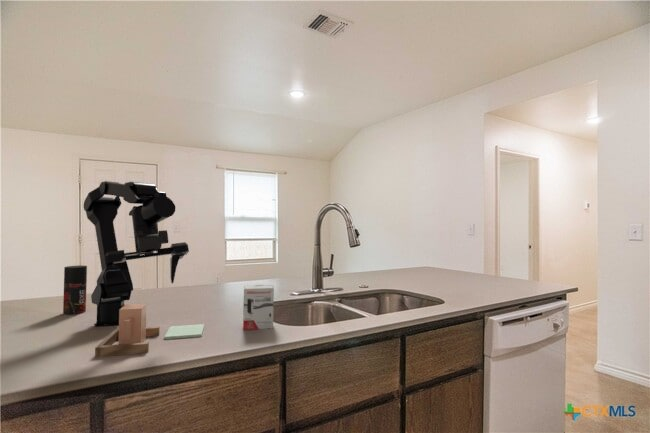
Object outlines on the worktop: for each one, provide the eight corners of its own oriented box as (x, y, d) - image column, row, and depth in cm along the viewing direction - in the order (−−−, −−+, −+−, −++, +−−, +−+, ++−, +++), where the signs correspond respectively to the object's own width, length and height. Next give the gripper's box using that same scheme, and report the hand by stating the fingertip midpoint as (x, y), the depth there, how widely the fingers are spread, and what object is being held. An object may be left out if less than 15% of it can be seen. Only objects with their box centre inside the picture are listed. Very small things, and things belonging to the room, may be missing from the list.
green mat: (164, 339, 85) (164, 336, 85) (170, 328, 94) (170, 326, 94) (201, 336, 87) (201, 334, 88) (204, 326, 96) (204, 324, 96)
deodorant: (71, 310, 112) (72, 265, 112) (89, 310, 112) (90, 265, 112) (58, 315, 106) (59, 267, 106) (78, 314, 106) (79, 267, 107)
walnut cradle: (94, 356, 74) (95, 347, 74) (114, 337, 86) (115, 329, 86) (147, 352, 76) (147, 343, 76) (159, 334, 89) (159, 326, 89)
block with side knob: (124, 340, 84) (125, 304, 84) (145, 339, 85) (146, 303, 85) (114, 352, 76) (115, 312, 77) (137, 350, 78) (138, 311, 78)
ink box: (242, 330, 93) (243, 287, 93) (243, 325, 98) (243, 284, 98) (273, 328, 95) (274, 287, 95) (272, 323, 100) (273, 283, 100)
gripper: (101, 224, 77) (107, 292, 74) (187, 216, 86) (196, 276, 83) (104, 234, 86) (110, 295, 83) (182, 226, 96) (189, 280, 93)
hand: (152, 286), depth 85 cm, fingers open, 9 cm apart
